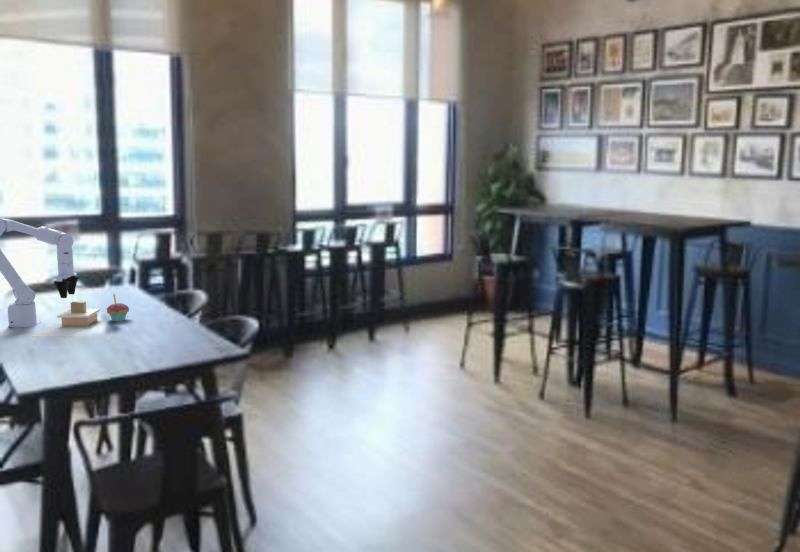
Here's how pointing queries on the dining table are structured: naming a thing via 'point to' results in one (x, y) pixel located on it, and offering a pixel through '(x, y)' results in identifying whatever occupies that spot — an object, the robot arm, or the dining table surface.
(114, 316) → the cupcake
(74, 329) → the mat
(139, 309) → the dining table surface
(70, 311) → the lid
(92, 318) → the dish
